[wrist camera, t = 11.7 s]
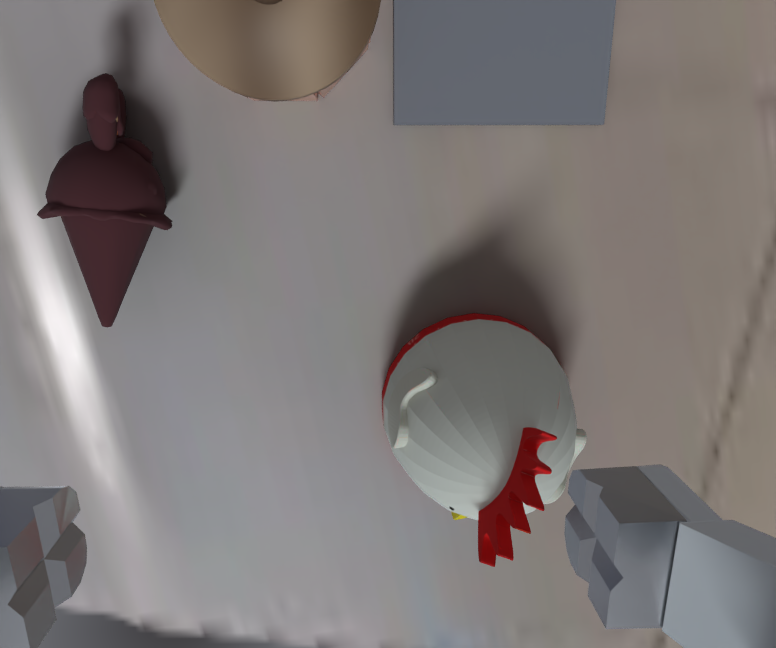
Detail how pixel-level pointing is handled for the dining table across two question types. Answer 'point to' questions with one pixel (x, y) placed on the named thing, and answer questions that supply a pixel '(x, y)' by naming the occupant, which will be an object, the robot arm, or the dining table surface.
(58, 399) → the dining table surface
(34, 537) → the robot arm
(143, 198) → the icecream
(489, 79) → the mat
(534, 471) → the kitchen timer
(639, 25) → the dining table surface
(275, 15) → the lid
